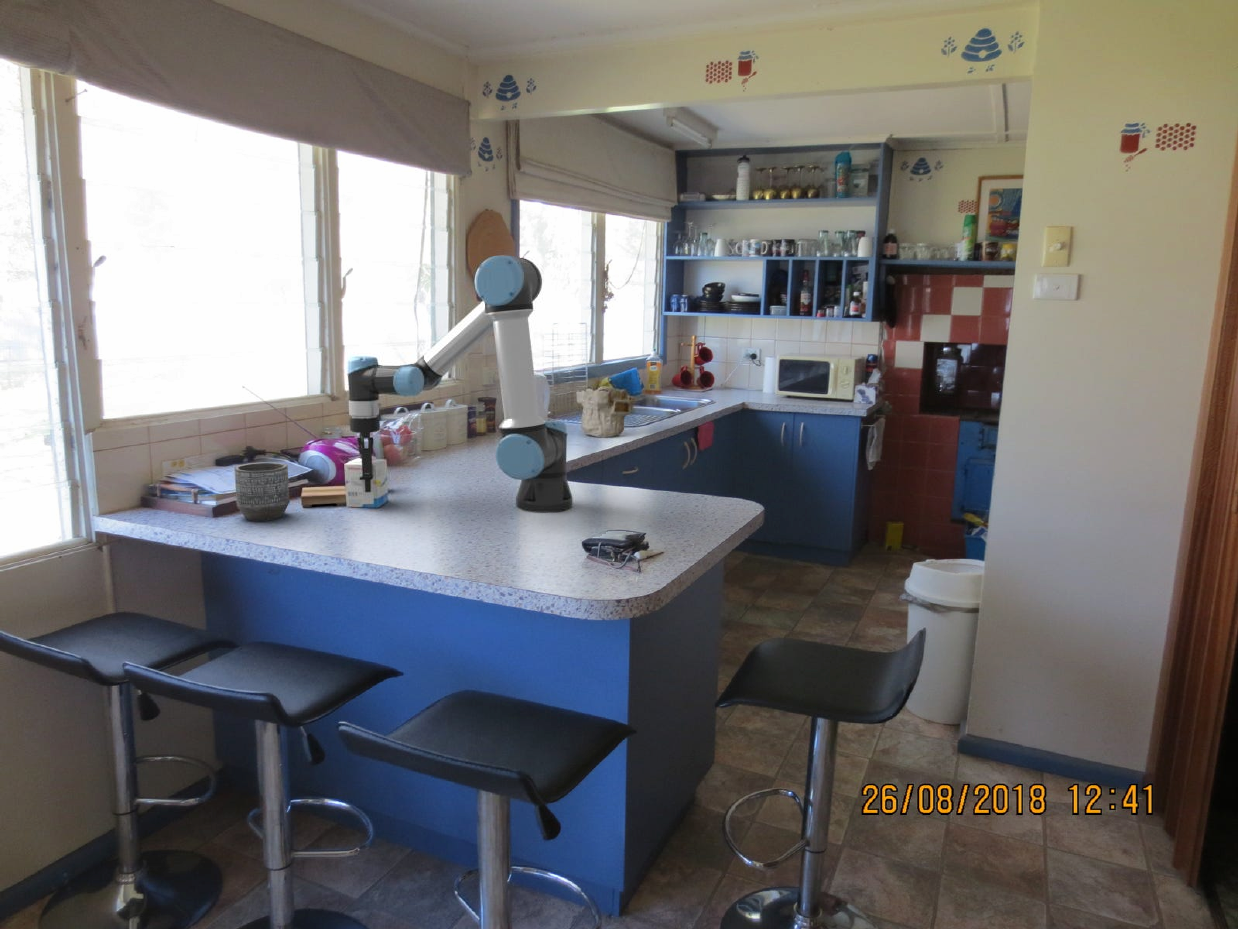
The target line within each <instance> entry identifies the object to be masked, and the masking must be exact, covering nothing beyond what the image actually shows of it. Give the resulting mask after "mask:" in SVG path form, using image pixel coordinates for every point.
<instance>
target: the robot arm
mask: <svg viewBox="0 0 1238 929" xmlns="http://www.w3.org/2000/svg"><path fill="white" fill-rule="evenodd" d="M474 286H475V287H474V288H475V292H476V293H477V296H478V297H479V298H480V299H481V300H482V301H481V302H480V303H479V304H477V305H476V306H475V307H474V308H473V309H472V310H470V312H468V313H467V315H466V316H464V317H463V318H462V319H461V320H460V321H458V323H457V324H455V325H454V327H452V328H451V329H450V330H449V331H448V332H447V333H446V334H445V335H444V336H443V337H442V338H441V339H439V340H438V341H437V342H436V343H435V344H434V345H433V346H432V347H430V349H429V350H427V351H426V352H425V354H424V355H423V356H421V357H420V358H419V359H418V360H417V361H415V362H414V363H409V364H401V365H383V364H382V365H381V364H379V361H378V358H377V357H375V356H367V355H366V356H363V355H362V356H351V357H350V358H349V359H348V361H347V373H346V374H347V375H346V376H347V382H348V385H347V386H348V395H349V396H348V415H349V416H351V417H350V418H349V430H350V432H353V433H357V434H358V433H359V435H358V436H359V437H357V439H356V440H357V441H356V442H357V446H358V453H359V456H360V458H361V459H362V477H360V480H362V495H363V504H374V497H373V479H372V478H373V473H372V459H373V457H372V456H373V455H374V437H373V436H372V437H371V433H376V432H379V431H380V429H381V426H380V425H381V422H380V417H379V416H378V415H379V414H380V408H381V407H382V403H380V401H379V400H380V395H388V396H389V395H390V396H403V397H411V396H412V397H415V396H418V395H420V394H421V392H423V391H431V390H432V389H435V388H437V387H439V386H440V384H441V382H442V379H443V377H444V376H445V375H446V374H448V373H449V372H450V371H451V369H453V368H454V367H455V366H456V365H457V364H458V363H460V361H462V360H463V359H464V358H465V357H466V356H467V355H468V354H470V353H471V352H472V351H473V350H474V349H475V348H476V347H477V346H478V345H479V344H480V343H482V341H484V340H485V339H486V338H487V337H488V336H490V334H492V333H493V334H494V335H493V336H494V340H495V341H494V343H495V351H496V352H495V353H496V360H497V369H498V376H499V384H500V385H499V386H500V393H501V400H502V412H503V418H504V419H503V420H502V422H501V423H500V424H499V426H498V430H499V436H500V437H499V438H500V441H499V442H498V444H497V445H496V449H495V460H496V463H497V466H498V467H499V469H500V470H501V471H502V473H504V474H505V475H506V476H507V477H509V478H510V479H514V480H519V481H520V480H521V481H520V484H519V487H518V491H517V494H516V497H515V507H516V508H517V509H519V510H523V511H525V512H532V513H533V512H535V513H552V512H553V513H555V512H561V510H562V511H566V510H569V509H571V508H572V507H573V506H572V505H574V504H573V503H574V502H573V499H574V498H573V495H572V492H571V489H570V484H569V482H568V479H567V453H568V452H567V439H568V438H567V437H568V432H567V431H568V430H567V425H566V423H565V422H563V421H552V420H545V419H544V418H543V417H541V416H540V412H539V405H538V395H537V387H536V378H535V377H536V376H535V370H534V369H535V368H534V361H533V352H532V351H533V350H532V344H531V342H532V341H531V332H530V327H529V326H530V325H529V324H530V323H529V317H530V316H531V315H532V313H533V312H534V304H533V303H534V301H535V300H536V298H538V296H539V294H540V293H541V290H542V286H543V278H542V274H541V271H540V270H539V268H538V267H537V265H536V264H535V263H534V262H533V261H531V260H530V259H527V258H524V257H519V256H518V257H516V256H512V255H508V254H505V255H504V254H500V255H494V256H491V257H488V258H487V259H485V260H484V261H483V262H482V263H481V264H480V265H479V267H478V268H477V270H476V272H475V276H474ZM365 473H370V474H365ZM570 507H571V508H570ZM568 508H569V509H568Z"/></svg>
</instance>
